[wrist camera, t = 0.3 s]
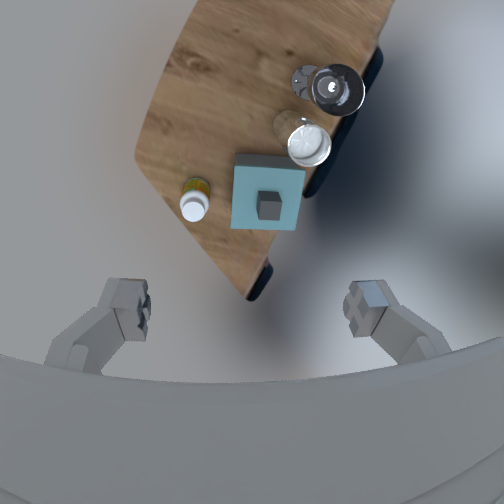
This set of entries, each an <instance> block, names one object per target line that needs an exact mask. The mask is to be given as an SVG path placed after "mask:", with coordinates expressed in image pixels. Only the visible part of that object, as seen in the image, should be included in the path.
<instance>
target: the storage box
mask: <svg viewBox="0 0 504 504" xmlns="http://www.w3.org/2000/svg"><path fill="white" fill-rule="evenodd" d="M235 164H244V165H262V166H277V167H289V168H299V167H298V166H297V164H296V163H295V162H294V161H293V160H292V159H291V158H290V157H286V156H273V155H259V154H242V153H235ZM234 166H235V165H234ZM232 194H233V193H232Z"/></svg>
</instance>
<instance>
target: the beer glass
mask: <svg viewBox="0 0 504 504" xmlns="http://www.w3.org/2000/svg"><path fill="white" fill-rule="evenodd" d="M273 130H274V132H275V134H276V135H277V136H278V137H279V140H280V143H281V146H282V148H283V149H284V151H285V152H286V153H287V155H288V156H289V157H290V158H291V159H292V160H293V161H294V162H295V163H297V164H298V165H301V166H304V167H313V166H316V165H319V164H321V163H322V162H323V161H324V160H325V159H326V158H327V157H328V155H329V153H330V150H331V139H330V137H329V135H328V133H327V132H326V131H325V130H324V129H323V128H322V127H321V126H320V125H319V124H318V123H317V122H315V121H314V120H312V119H310V118H307V117H303V116H301V115H300V114H299V113H297V112H296V111H293V110H284V111H282V112H280V113H278V114H277V115H276V117H275V118H274V120H273Z"/></svg>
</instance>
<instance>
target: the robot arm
mask: <svg viewBox="0 0 504 504" xmlns="http://www.w3.org/2000/svg"><path fill="white" fill-rule="evenodd" d="M147 290H148V285H147V281H146V280H145V279H128V278H109V279H108V280H107V282H106V284H105V287H104V290H103V292H102V295H101V298H100V300H99V303H98V305H97V307H93V308H92V309H90V310H89V311H88V312H87V313H85V314H84V315H83V316H81V317H80V318H79V319H78V320H76V321H75V322H74V323H73V324H71V325H70V326H69V327H68V328H67V329H65V330H64V331H63V332H62V333H60V334H59V335H58V336H57V337H56V338H54V339H53V341H52V343H51V346H50V348H49V351H48V354H47V356H46V360H45V362H44V365H41V364H37V363H33V362H28V361H24V360H20V359H16V358H13V357H9V356H5V355H2V354H0V504H504V337H496V338H493V339H491V340H488V341H485V342H482V343H479V344H476V345H473V346H470V347H466V348H463V349H460V350H456V351H453V352H452V350H451V348H450V346H449V345H448V343H447V341H446V339H445V338H444V336H443V334H442V332H440V331H439V330H437V329H436V328H435V327H433V326H432V325H431V324H429V323H428V322H426V321H425V320H423V319H422V318H421V317H419V316H417V315H416V314H415V313H413V312H412V311H410V310H409V309H407V308H406V307H405V306H403V305H402V306H401V305H400V304H399V302H398V301H397V299H396V297H395V296H394V294H393V292H392V291H391V289H390V287H389V286H388V284H387V282H386V281H384V280H373V281H372V280H368V281H352V283H351V284H350V286H349V290H350V293H349V294H347V295H346V296H345V299H344V302H343V311H344V315H345V317H346V318H347V319H348V320H349V321H350V324H349V327H350V329H351V332H352V334H353V337H367V336H371V338H372V339H373V340H375V342H376V343H378V344H379V345H380V346H381V347H382V348H383V349H384V350H385V351H386V352H387V353H388V354H389V355H390V356H391V357H392V358H393V359H394V360H395V361H396V362H397V363H398V364H397V365H395V366H390V367H384V368H379V369H373V370H368V371H362V372H355V373H349V374H343V375H335V376H327V377H318V378H309V379H298V380H285V381H270V382H247V383H190V382H167V381H151V380H140V379H129V378H120V377H111V376H104V375H103V374H102V372H101V371H100V370H101V369H102V368H103V367H104V365H105V364H106V363H107V362H108V361H109V360H110V359H111V357H112V356H113V355H114V354H115V353H116V351H117V350H118V349H119V348H120V347H121V346H122V345H123V344H124V342H125V341H143V342H145V341H146V336H147V330H148V327H147V321H148V320H149V319H150V314H151V301H150V296H149V295H148V294H147Z"/></svg>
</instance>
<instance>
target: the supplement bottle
mask: <svg viewBox="0 0 504 504" xmlns="http://www.w3.org/2000/svg"><path fill="white" fill-rule="evenodd" d="M209 200H210V186H209V184H208V183H207V181H205V180H204V179H202V178H192V179H190V180H188V181H187V182H186V184H185V186H184V189H183V192H182V196H181V200H180V208H181V210H182V214H183V216H184V218H185V219H187V220H188V221H192V222H195V221H199V220H200V219H202V218H203V216H204V214H205V213H206V212H207V210H208V208H209Z"/></svg>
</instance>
